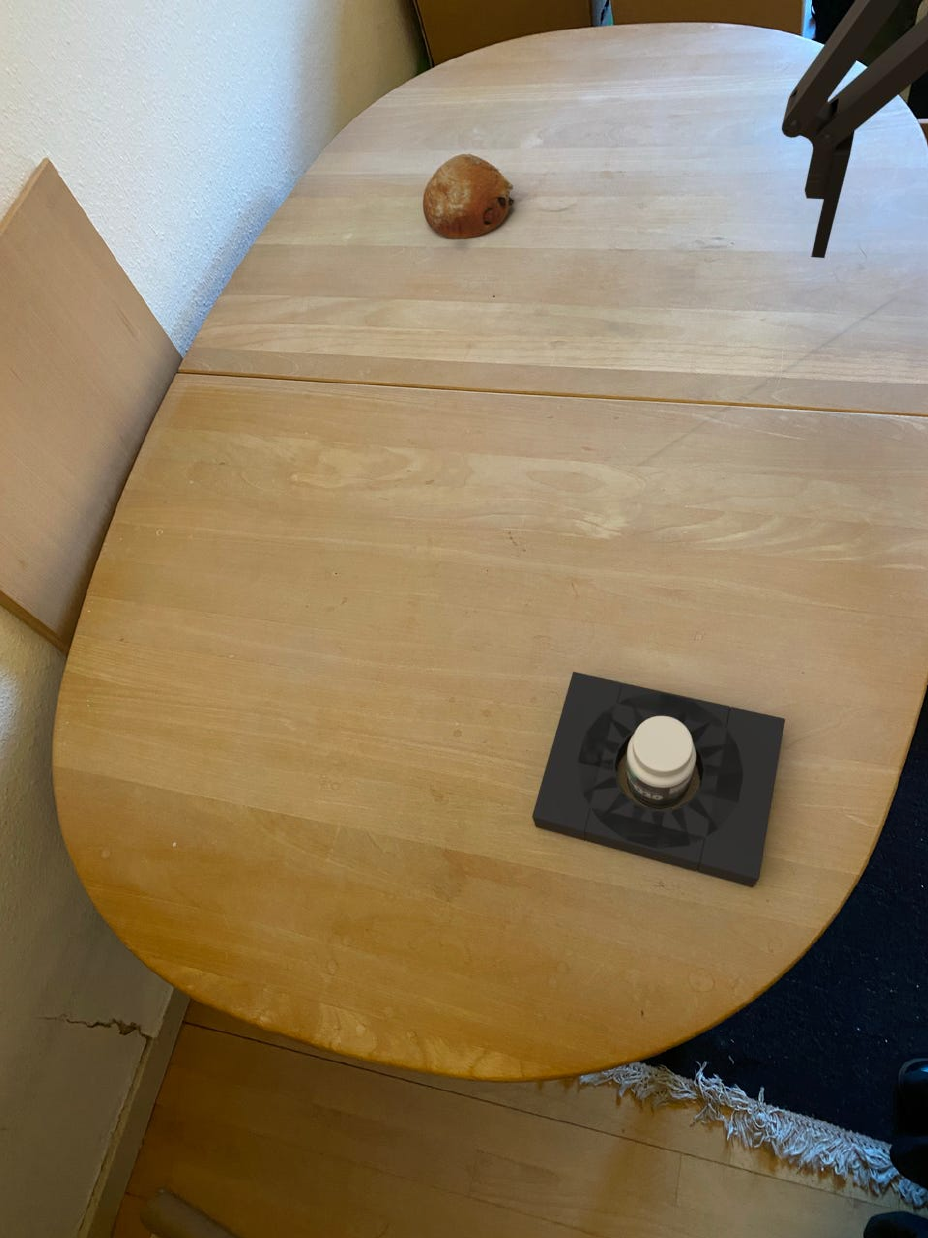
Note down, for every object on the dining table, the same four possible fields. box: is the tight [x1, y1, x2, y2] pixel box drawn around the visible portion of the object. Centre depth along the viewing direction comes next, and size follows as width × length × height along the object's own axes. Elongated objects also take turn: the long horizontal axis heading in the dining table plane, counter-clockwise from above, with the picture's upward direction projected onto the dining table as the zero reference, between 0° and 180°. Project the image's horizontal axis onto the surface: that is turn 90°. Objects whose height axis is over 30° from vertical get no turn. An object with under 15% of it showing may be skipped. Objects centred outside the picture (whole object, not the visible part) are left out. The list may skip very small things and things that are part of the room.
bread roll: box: [422, 153, 515, 240], centre depth 97 cm, size 10×10×8 cm
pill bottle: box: [626, 716, 696, 809], centre depth 60 cm, size 5×5×8 cm
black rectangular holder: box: [531, 671, 786, 888], centre depth 62 cm, size 16×12×3 cm
